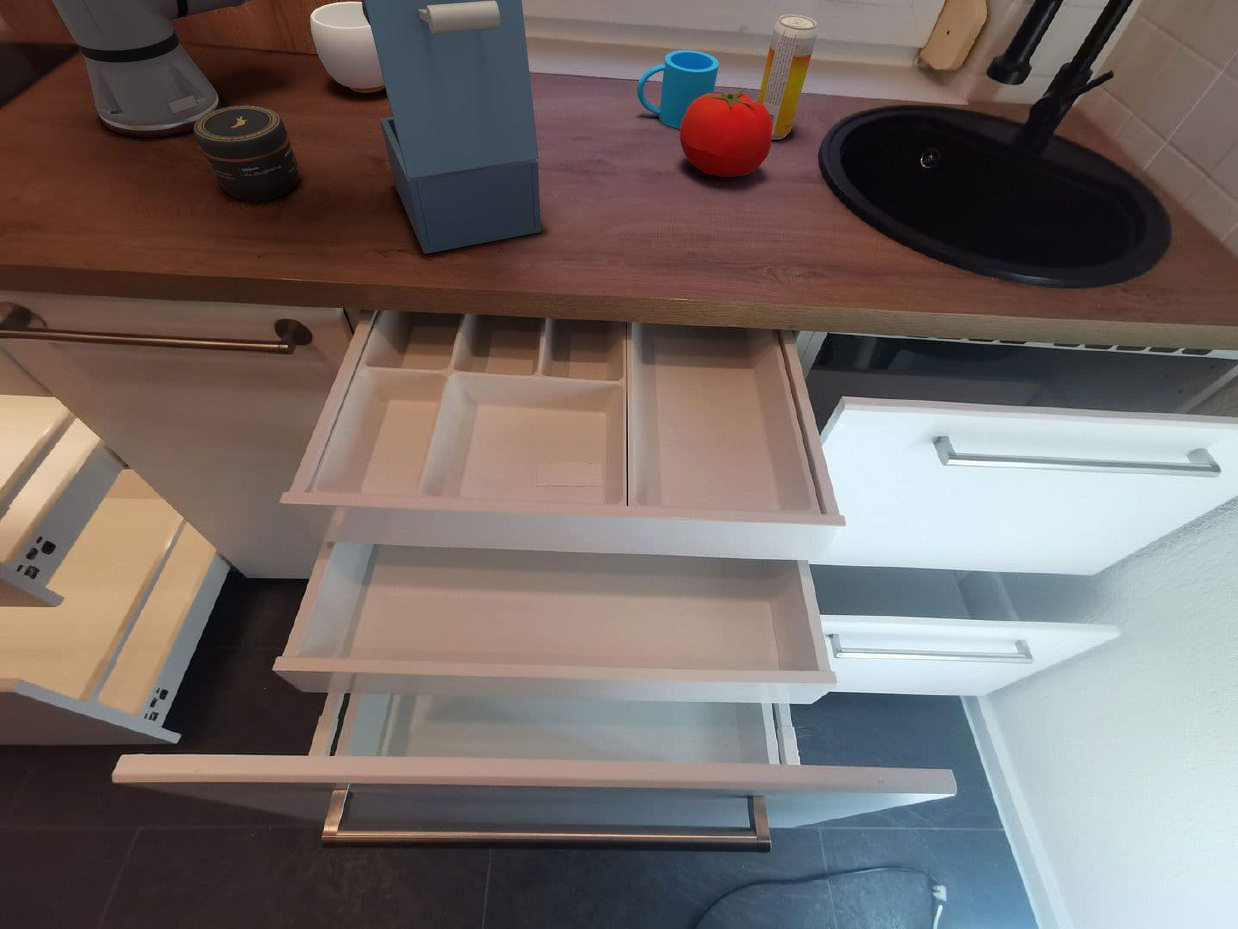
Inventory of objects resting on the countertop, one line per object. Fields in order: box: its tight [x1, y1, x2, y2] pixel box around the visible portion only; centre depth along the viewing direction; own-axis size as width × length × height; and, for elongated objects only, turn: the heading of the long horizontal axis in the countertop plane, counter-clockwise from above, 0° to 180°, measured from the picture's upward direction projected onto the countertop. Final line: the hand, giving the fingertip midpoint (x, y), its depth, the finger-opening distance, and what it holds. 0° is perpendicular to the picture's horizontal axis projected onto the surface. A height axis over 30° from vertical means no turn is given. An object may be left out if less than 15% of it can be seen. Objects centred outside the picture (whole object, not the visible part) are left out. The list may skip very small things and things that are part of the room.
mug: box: [636, 49, 719, 130], centre depth 96 cm, size 12×8×8 cm
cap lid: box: [364, 0, 540, 179], centre depth 60 cm, size 16×15×8 cm
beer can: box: [757, 13, 818, 141], centre depth 92 cm, size 6×6×15 cm
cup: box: [310, 1, 386, 94], centre depth 95 cm, size 12×12×10 cm
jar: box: [193, 104, 300, 202], centre depth 77 cm, size 10×10×8 cm
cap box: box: [379, 116, 542, 255], centre depth 76 cm, size 16×15×9 cm
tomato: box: [679, 88, 772, 178], centre depth 85 cm, size 11×13×10 cm
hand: (450, 94), depth 68 cm, fingers closed on supplement box, 7 cm apart
